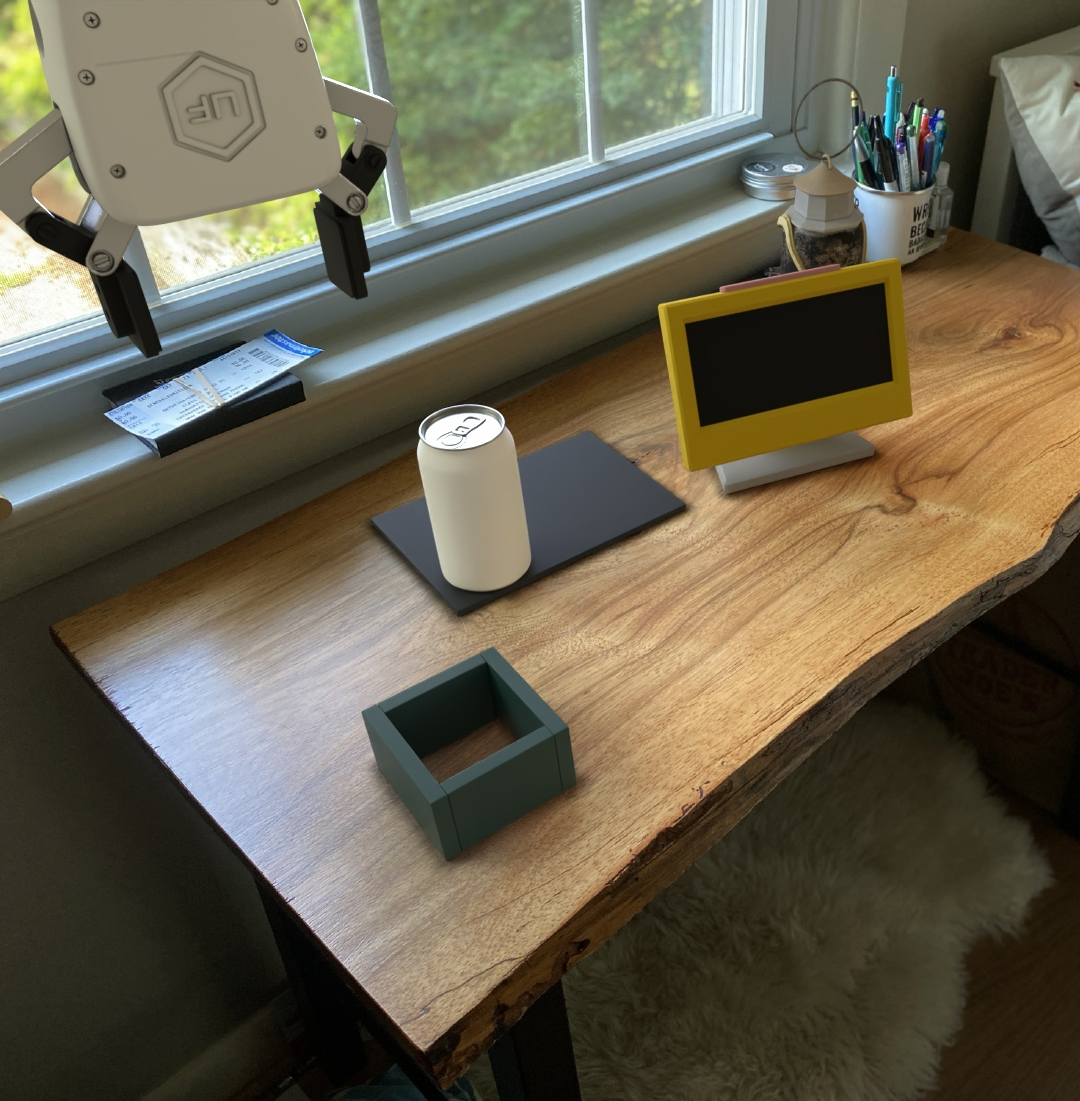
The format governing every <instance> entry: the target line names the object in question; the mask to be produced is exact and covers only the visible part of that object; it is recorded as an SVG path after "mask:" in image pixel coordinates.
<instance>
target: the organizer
mask: <svg viewBox="0 0 1080 1101" xmlns="http://www.w3.org/2000/svg"><path fill="white" fill-rule="evenodd" d="M361 716H362V719H363V723H364V726H365V729H366V733H367V736H368V739H369V742H370V746H371V749H372V752H373V755H374V758H375V762H376V766H377V768H378V770H379V771H380V773H381V775H383V777H384V778H385V780H386V781H387V782H388V784H389V785H390V787H391V788H392V789H393V791H394V792H395V793H396V795H397V796H398V797H399V799H400V800H401V802H402V803H403V805H404V806H405V808H407V810H408V811H409V813H410V814H411V816H412V817H413V819H414V820H415V821H416V823H417V824H418V825H419V827H420V828H421V829H422V830H423V832H424V833H425V835H426V837H427V838H428V839H429V840H430V842H431V843H432V844H433V846H434V847H435V848H436V850H437V851H438V852H439V854H440V855H441V857H442V858H443V859H444V861H445V862H448V861H450V860H451V859H453V858H455V857H456V856H458V855H460V854H462V852H465V851H467V850H468V849H470V848H472V847H473V846H475V845H477V844H478V843H480V842H482V841H484V840H485V839H487V838H488V837H490V836H492V835H493V834H495V833H497V832H498V831H500V830H502V829H503V828H505V827H507V826H509V825H511V824H512V823H514V822H515V821H517V820H519V819H521V818H522V817H524V816H526V815H528V814H529V813H531V812H532V811H534V810H536V809H537V808H539V807H540V806H542V805H544V804H545V803H548V802H549V801H551V800H553V799H554V798H556V797H557V796H559V795H561V794H562V793H565V792H566V791H568V790H570V789H571V788H573V787H575V786H577V784H578V782H577V776H576V775H577V774H576V769H575V768H576V767H575V760H574V753H573V745H572V739H571V733H570V726H569V725H568V724H567V722H565V721H564V720H563V719H562V718H561V716H559V714H558V713H557V712H556V711H555V710H554V709H553V708H552V707H551V706H550V705H549V704H548V703H547V702H546V700H544V699H543V697H542V696H541V695H540V694H539V693H538V692H537V691H536V690H535V689H534V687H532V686H531V685H530V683H528V682H527V680H526V679H525V678H524V677H523V676H522V675H521V674H520V673H519V672H518V671H517V670H516V669H515V668H514V666H512V665H511V663H510V662H508V660H507V659H506V658H505V657H504V656H503V655H502V654H501V652H499V651H498V649H496V647H495V646H493V645H492V646H490V647H487V648H486V649H484V650H482V651H480V652H479V653H476V654H475V655H472V656H470V657H468V658H466V659H464V660H462V661H460V662H458V663H456V664H454V665H452V666H450V667H448V668H446V669H444V670H442V671H439V672H437V673H436V674H434V675H432V676H430V677H428V678H426V679H424V680H421V681H419V682H417V683H416V684H413V685H411V686H409V687H408V688H405V689H403V690H401V691H400V692H397V693H395V694H393V695H391V696H389V697H387V698H385V699H383V700H382V701H379V702H377V703H376V704H373V705H371V706H369V707H367V708H365V709H363V710H361ZM496 720H498V721H499V722H500V723H501V724H502V725H503V726H504V727H505V728H506V729H507V731H508V732H509V733H510V734H511V735H512V736H513V738H515V739H516V741H514V742H512V743H510V744H508V745H506V746H505V747H503V748H501V749H500V750H498V751H496V752H494V753H492V754H490V755H488V756H487V757H485V758H483V759H481V760H480V761H478V762H476V763H474V764H471V765H470V766H469V767H466V768H465V769H463V770H461V771H459V772H457V773H455V774H454V775H452V776H451V777H448V778H447V779H445V780H443V781H440V783H439V782H438V780H437V779H436V778H435V776H434V775H432V773H431V772H430V770H429V769H428V768H427V767H426V765H425V764H424V762H423V761H422V759H425V758H426V757H428V756H430V755H432V754H434V753H437V752H438V751H440V750H441V749H444V748H445V747H448V746H449V745H450V744H453V743H455V742H457V741H459V740H460V739H462V738H464V737H466V736H468V735H470V734H471V733H473V732H475V731H477V730H479V729H481V728H482V727H485V726H486V725H488V724H490V723H491V722H493V721H496Z"/></svg>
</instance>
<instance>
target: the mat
mask: <svg viewBox="0 0 1080 1101" xmlns="http://www.w3.org/2000/svg"><path fill="white" fill-rule="evenodd" d="M517 462H518V469H519V475H520V482H521V488H522V495H523V502H524V509H525V515H526V522H527V529H528V536H529V543H530V551H531V563H530V566H529V568H528V569H527V571H526V572H525V573H524V574H523V576H522V577H521V578H520V579H519V580H517V581H516V582H515V583H513V584H511V585H510V586H507V587H505V588H503V589H500V590H496V591H491V592H471V591H466V590H462V589H460V588H458V587H456V586H454V585H452V584H451V583H450V582H448V581H447V580H446V578H445V577H444V575H443V573H442V569H441V565H440V561H439V556H438V552H437V547H436V543H435V538H434V534H433V529H432V524H431V520H430V515H429V511H428V506H427V501H426V497H425V496H423V497H421V498H418V499H415V500H412V501H411V502H408V503H405V504H403V505H401V506H398V507H396V508H393V509H391V510H388V511H386V512H383V513H380V514H378V515H376V516H373V517H370V523H371V524H372V525H373V527H374V528H375V529H376V530H377V531H378V532H379V534H381V536H382V537H384V538H385V540H386V541H387V542H388V543H389V544H390V545H391V546H392V547H393V548H394V549H395V551H397V552H398V554H399V555H400V556H401V557H402V558H403V559H404V560H405V561H406V562H407V563H408V564H409V565H410V566H411V567H412V568H413V569H414V571H415V572H416V573H417V574H418V575H419V576H420V577H421V578H422V580H424V581H425V582H426V583H427V584H428V586H429V587H430V588H431V589H432V590H433V591H434V592H435V593H436V594H437V595H438V597H439V598H441V599H442V601H443V602H444V603H445V604H446V605H447V606H448V607H449V608H450V609H451V610H452V611H453V612H454V613H455V615H456V616H457V617H461V616H463V615H465V614H467V613H470V612H471V611H473V610H475V609H478V608H479V607H481V606H484V605H486V604H488V603H490V602H492V601H495V600H497V599H499V598H501V597H504V596H505V595H507V594H510V593H512V592H513V591H516V590H517V589H520V588H522V587H525V586H526V585H528V584H530V583H533V582H534V581H537V580H539V579H541V578H543V577H545V576H547V575H550V574H551V573H554V572H556V571H558V570H560V569H562V568H564V567H566V566H569V565H570V564H573V563H575V562H577V561H579V560H581V559H583V558H585V557H588V556H590V555H592V554H595V553H596V552H598V551H600V550H603V549H604V548H607V547H608V546H610V545H613V544H615V543H617V542H619V541H622V540H624V539H626V538H627V537H630V536H632V535H635V534H636V533H638V532H641V531H642V530H644V529H647V528H649V527H651V526H653V525H655V524H657V523H659V522H661V521H663V520H666V519H668V518H670V517H672V516H673V515H676V514H679V513H681V512H682V511H684V510H686V509H687V503H685V502H684V501H683V500H681V499H680V498H679V497H678V496H676V494H673V493H672V491H669V490H668V489H667V488H666V487H664V486H663V485H661V484H660V483H659V482H658V481H657V480H655V479H653V478H652V477H651V476H649V475H648V474H647V473H646V472H644V471H643V470H641V469H640V468H638V466H636V465H635V464H634V463H632V462H631V461H630V460H628V459H627V458H625V457H624V456H623V455H621V453H619V452H617V451H616V450H615V449H613V448H612V447H610V446H609V445H608V444H607V443H605V442H604V441H603V440H601V439H600V438H599V437H597V436H596V435H595V434H594V433H592V432H590V431H589V430H585V431H582V432H580V433H577V434H575V435H573V436H570V437H568V438H565V439H563V440H560V441H558V442H555V443H553V444H550V445H548V446H546V447H542V448H541V449H538V450H536V451H533V452H531V453H528V454H526V455H524V456H521V457H519V458H517Z"/></svg>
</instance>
